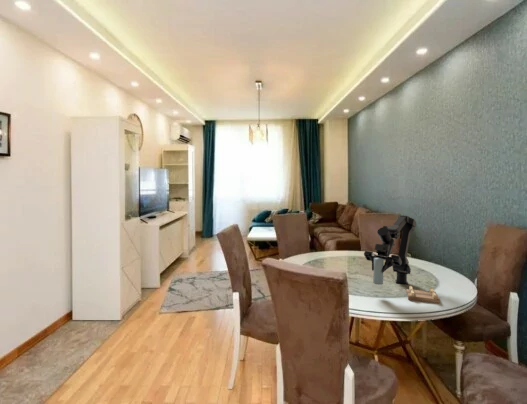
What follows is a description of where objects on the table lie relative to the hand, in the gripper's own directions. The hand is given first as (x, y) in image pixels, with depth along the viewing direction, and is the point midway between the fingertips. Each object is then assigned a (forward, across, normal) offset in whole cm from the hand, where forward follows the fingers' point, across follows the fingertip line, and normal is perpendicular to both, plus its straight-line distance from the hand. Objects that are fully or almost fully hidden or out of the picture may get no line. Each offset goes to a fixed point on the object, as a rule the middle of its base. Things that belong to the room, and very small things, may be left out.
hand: (377, 271), depth 168 cm
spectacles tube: (+4, 0, +6) cm, 7 cm away
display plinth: (-1, +18, +20) cm, 27 cm away
